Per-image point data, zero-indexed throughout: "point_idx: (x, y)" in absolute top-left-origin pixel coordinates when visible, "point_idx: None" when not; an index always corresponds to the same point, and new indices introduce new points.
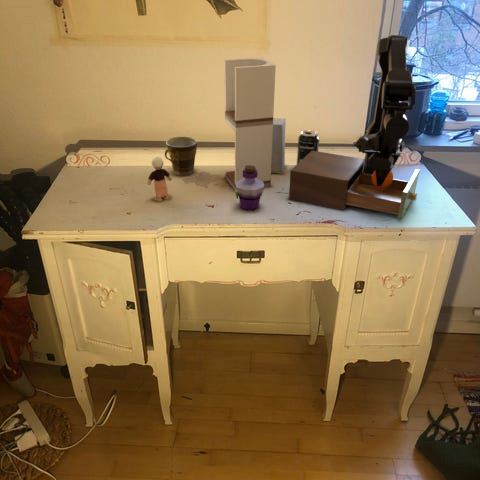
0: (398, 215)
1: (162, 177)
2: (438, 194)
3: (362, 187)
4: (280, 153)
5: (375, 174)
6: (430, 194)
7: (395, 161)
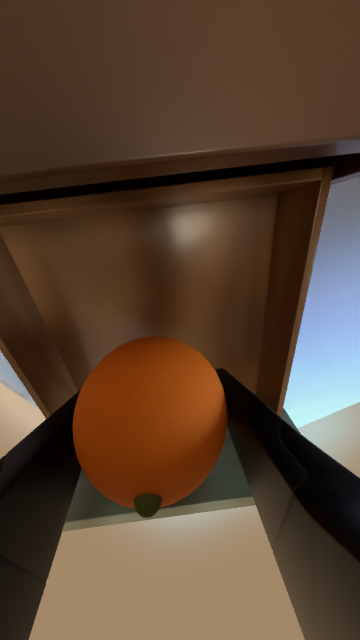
0: None
1: None
2: (302, 419)
3: (228, 231)
4: None
5: (79, 416)
6: (296, 408)
7: (281, 568)
